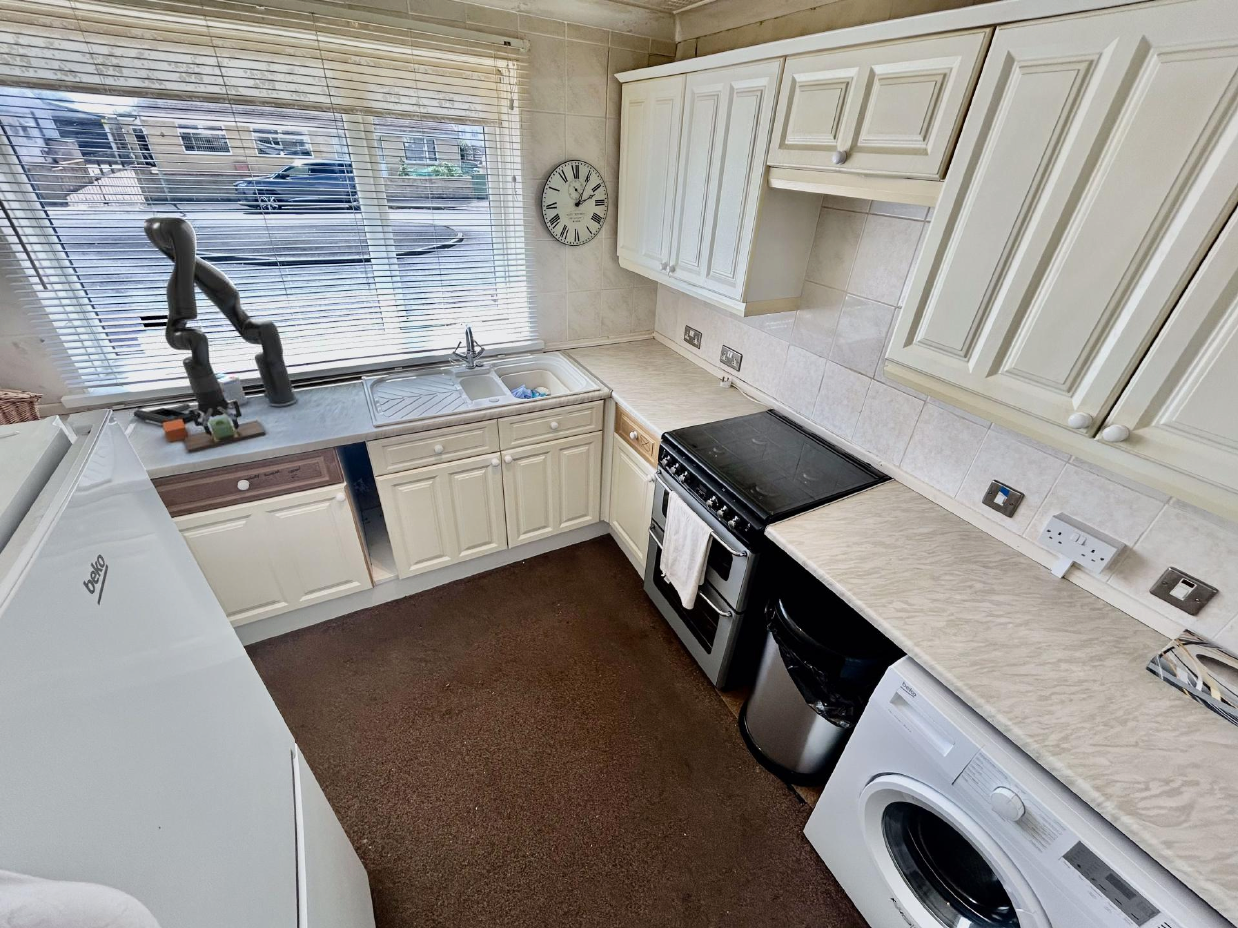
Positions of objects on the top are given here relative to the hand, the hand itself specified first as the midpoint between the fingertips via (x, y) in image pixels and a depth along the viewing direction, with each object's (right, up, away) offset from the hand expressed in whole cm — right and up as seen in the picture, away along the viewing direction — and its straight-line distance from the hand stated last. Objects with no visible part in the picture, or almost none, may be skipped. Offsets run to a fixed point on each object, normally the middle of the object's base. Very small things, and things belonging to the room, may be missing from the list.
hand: (223, 431), depth 182 cm
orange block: (-17, -1, +1) cm, 17 cm away
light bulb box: (-17, +13, +26) cm, 34 cm away
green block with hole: (0, -1, 0) cm, 1 cm away
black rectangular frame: (-30, +6, +14) cm, 33 cm away
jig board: (0, -2, +1) cm, 2 cm away
